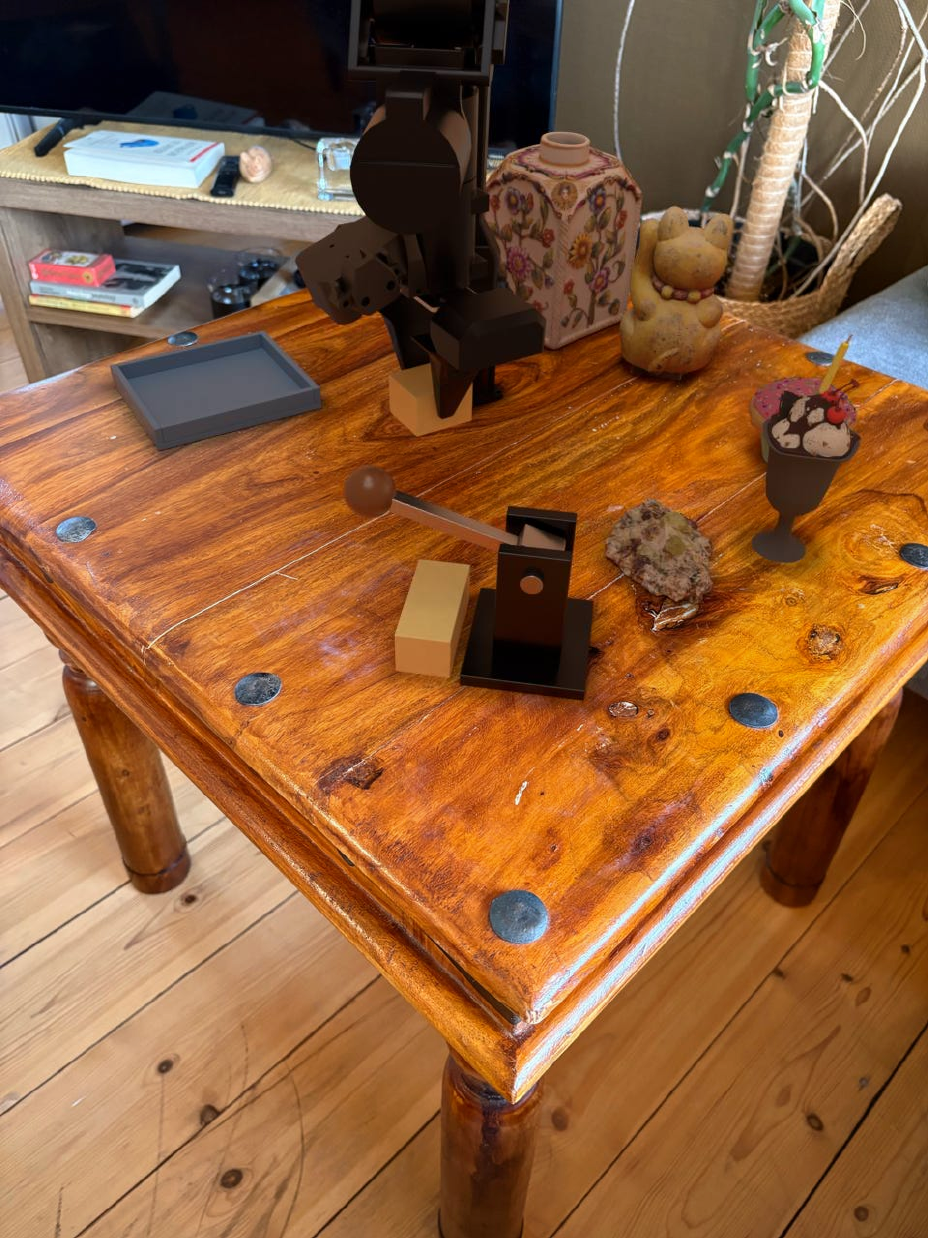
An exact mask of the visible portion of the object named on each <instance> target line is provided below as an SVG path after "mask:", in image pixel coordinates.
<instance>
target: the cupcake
mask: <svg viewBox="0 0 928 1238" xmlns="http://www.w3.org/2000/svg"><path fill="white" fill-rule="evenodd" d="M853 336H854V334H853V333H850V334H849V336H848V337H847V339H846V340H843V341H841V343H840V344H839V346H838V349H837V351H836V353H835V354H834V357H833V359H832V361H831V363H830V365H829V368H828V370H827V372H826V374H825V376H824V378H823V379H822V378H819V377H818V378H817V377H812V376H811V377H802V376H800V377H797V376H789V377H783V378H780V379H774V380H773V381H771V382H769V383H767V384H764V385H762V387H760V388H758V390H757V391H756V392H755V393H754V396H752V399H751V400H750V403H749V407H748V414H749V416H750V424H751V426H752V427H753V428H754V429H755V430H757V431H758V432H759V438H760V446H761V456H762V459H763V461H764V462H765V463H766V464H767V463H768V454H769V445H768V443H767V441H766V439H765V437H764V434H763V423H764V422H765V421H766V420H767V419H770V418H771V416H772V415H773V414H776V413H778V412H779V405H780V400H781V394H782V392H783V391H784V390H787V391H790V392H793V393H795V394H797V395H800V396H804V397H806V396H809V395H813V394H816V393H819V394H823V393H824V391H826V390H833V391H835V390H837V389H839V387H837V386H836V385H834V384H833V383H832V382H833V380H834V378H835V376H836V375H837V372H838V370H839V368H840V366H841V363H843V360H844V358H845V355H846V354H847V353H848V352H847V351H848V350H849V348H850V345H851V344H850V341H851V340H852V337H853ZM837 393H838V395H839V397H840V395H841V394H842V393H843V391H842V389H841V390H839V391H838V392H837ZM849 398H850V397H849V396H847V393H845V394H844V395H843V396H842V398H841V400H840V403H839V407H841V408H842V409H843V410H845V413H846V414H845V418H844V419H843V420H844V421H845V423H846V424H847V426H848V428H850V429H851V430H854V428H855V425H856V421H857V415H858V413H859V410H857V409H856V407H855V406H854V403H853V402H852V401H851V400H850V399H849Z"/></svg>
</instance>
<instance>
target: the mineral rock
mask: <svg viewBox="0 0 928 1238" xmlns="http://www.w3.org/2000/svg"><path fill="white" fill-rule="evenodd" d="M698 527H699V525H698V524H697V522H696V521H694V519H692V518H689V517H687V516H686V515H684V513H682V512H678V511H675V510H674V509H672V508H670V507H668V506H667V505H663V503H662V502H661V501H658V500H657V499H656V498H646V499H645V500H644V501H643V502H642V503H640V504H639V505H637V506H636V505H635V506H634V507H633V508H631V509H627V510H626V512H625V513H624V514H623V516H622V517H621V518H620V519H619V520H618V522H617V523H615V524H614V526H613V527H612V530H611V533H610V535H609V537H607V538H606V540H605V545H606V551H605V556H606V557H607V558H609V559H610V560H611V561H612V562H613V563H614V564H616V565H617V566H619V569H620V571H621V573H623V575H626V577H629V578H631V580H632V581H635V582H636V583H638V584H639V585H640V586H641V587H642V588H644V589H645V590H646V591H648V593H649V594H651V595H655V596H656V597H659V596H665V597H668V598H670V599H671V601H674V602H676V603H678V602H679V601H681V600H684V601H687V602H689V603H690V604H694V605H697V604H700V603H702V601H703V598H704V597H703V595H707V594H708V593H709V592H711V591H712V586H713V584H714V582H713V581H712V579H711V575H710V572H709V567H710V562H711V561H710V560H709V558H711V557H712V552H713V550H714V547H713V544H712V541H711V538H709V537H707V536H705V535H704V534H702V533H701V532H700V531H698Z"/></svg>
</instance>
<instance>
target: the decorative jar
mask: <svg viewBox="0 0 928 1238" xmlns="http://www.w3.org/2000/svg"><path fill="white" fill-rule="evenodd" d="M590 145H591V141H590V139H589V138H588V137H587V136H585V135H583V134H580V133H576V132H571V131H569V132H568V131H552V132H551V131H550V132H547V133H545V134H543V135H542V136H541V138H540V143H539V144H533V145H530V146H526V147H523V148H520V149H517V150H515V151H511V152H509V153H508V154H506V155H505V157H504V158H503V160H502V161H501V162H500V163H499V165H498V166H497V167H496V168H494V170H493V172H492V173H490V175H489V177H488V179H486V193H488V194H490V206H489V212H485V219H486V221H487V223H488V225H489V227H490V229H491V231H492V233H493V235H494V237H495V239H496V241H497V243H498V245H499V247H500V250H501V260H500V274H501V273H503V274H507V282H509V287H510V288H511V289H512V290H513V292H514V294H515V295H517V296H518V297H520V298H521V299H523V300H524V301H526V302H527V303H529V304H530V305H532V306H533V307H535V308H536V309H537V310H538V311H539V312H540V313H541V314H542V315H543V316H544V317H545V318H546V319H547V320H546V332H545V345H544V347H546V348H548V349H550V350H553V351H554V350H558V349H561V348H562V347H564V346H566V345H570V344H572V343H573V342H575V341H578V340H579V339H582V338H584V337H587V336H590V335H592V334H594V333H597V332H598V331H601V330H603V329H605V328H608V327H609V326H612V325H615V324H617V323H620V322H621V320H622V318H623V316H624V314H625V312H626V311H627V310H628V309H629V308H628V307H629V299H630V296H631V295H630V276H631V270H632V267H633V264H634V261H635V258H636V253H637V252H636V251H637V243H638V242H637V241H638V236H639V226H640V218H641V217H640V216H641V212H642V211H641V209H642V201H643V192H642V190H641V189H640V187H639V186H638V183H637V182H636V180H635V179H634V178H633V176H632V174H631V172H630V171H629V170H628V169H627V167H626V166H625V165H624V163H623V162H622V161H621V159H620V158H619V157H618V156H616V155H613V154H610V153H608V152H605V151H602V150H599V149H597V148H594V147H591V146H590Z"/></svg>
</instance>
